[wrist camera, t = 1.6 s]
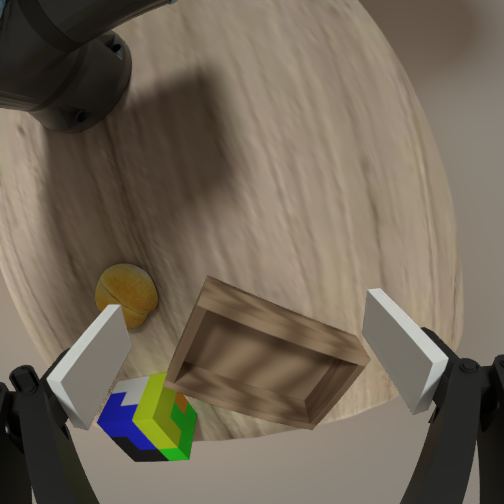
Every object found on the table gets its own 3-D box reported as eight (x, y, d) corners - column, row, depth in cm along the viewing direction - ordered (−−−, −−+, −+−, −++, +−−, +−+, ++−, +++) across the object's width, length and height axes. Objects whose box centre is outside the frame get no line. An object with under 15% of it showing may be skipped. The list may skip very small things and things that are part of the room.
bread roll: (170, 288, 35) (162, 301, 32) (135, 330, 37) (126, 345, 33) (121, 246, 34) (108, 255, 30) (91, 293, 35) (78, 305, 32)
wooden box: (171, 359, 38) (162, 385, 32) (207, 275, 35) (200, 295, 29) (305, 403, 41) (312, 429, 35) (356, 335, 38) (370, 359, 32)
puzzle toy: (118, 381, 40) (96, 422, 30) (168, 371, 39) (152, 418, 29) (148, 420, 42) (135, 461, 33) (196, 413, 42) (189, 459, 32)
